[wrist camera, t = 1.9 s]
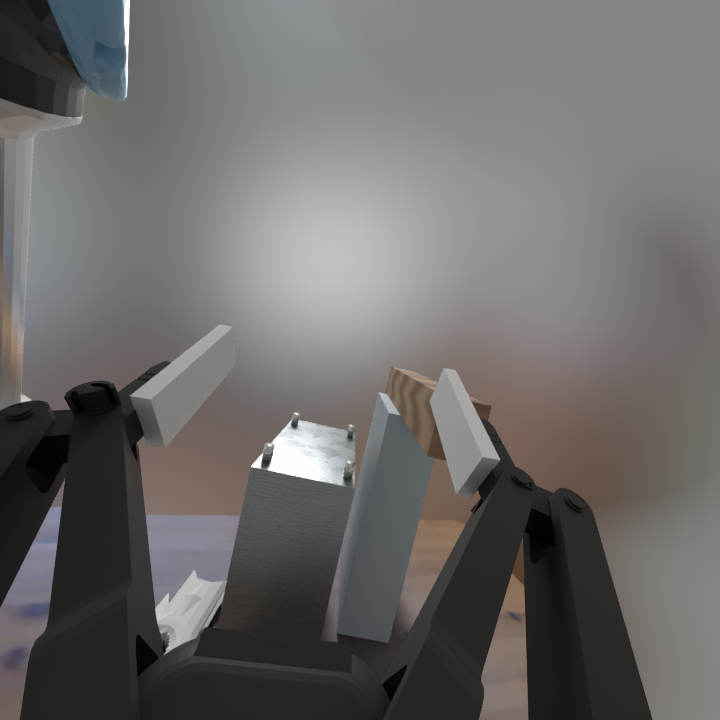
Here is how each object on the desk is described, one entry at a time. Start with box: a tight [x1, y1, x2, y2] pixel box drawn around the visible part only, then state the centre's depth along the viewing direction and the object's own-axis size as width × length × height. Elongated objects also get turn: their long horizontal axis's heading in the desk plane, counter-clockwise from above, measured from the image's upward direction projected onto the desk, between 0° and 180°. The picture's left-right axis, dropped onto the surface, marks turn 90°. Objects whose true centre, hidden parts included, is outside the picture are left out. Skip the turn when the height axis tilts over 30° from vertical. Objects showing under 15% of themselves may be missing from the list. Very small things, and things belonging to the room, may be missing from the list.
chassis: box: [217, 413, 355, 650], centre depth 33 cm, size 10×16×26 cm, turn 1°
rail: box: [386, 367, 491, 461], centre depth 34 cm, size 28×4×5 cm, turn 1°
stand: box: [337, 393, 434, 643], centre depth 40 cm, size 7×14×30 cm, turn 1°
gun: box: [155, 570, 227, 655], centre depth 26 cm, size 18×3×10 cm
